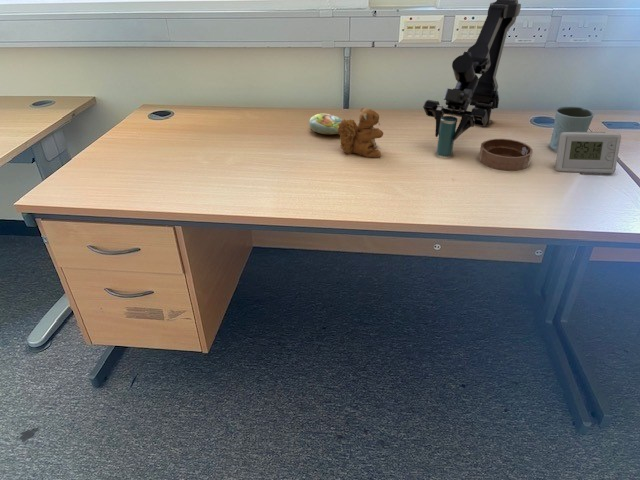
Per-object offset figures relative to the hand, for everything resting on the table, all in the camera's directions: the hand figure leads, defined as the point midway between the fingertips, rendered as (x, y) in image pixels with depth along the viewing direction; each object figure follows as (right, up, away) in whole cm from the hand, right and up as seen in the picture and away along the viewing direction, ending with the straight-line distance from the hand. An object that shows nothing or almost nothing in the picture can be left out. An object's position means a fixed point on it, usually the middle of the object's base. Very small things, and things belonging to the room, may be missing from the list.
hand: (444, 138), depth 136 cm
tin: (+1, -4, +4) cm, 6 cm away
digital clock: (+37, -11, -6) cm, 39 cm away
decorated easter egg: (-35, +7, +23) cm, 42 cm away
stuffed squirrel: (-25, -2, +8) cm, 26 cm away
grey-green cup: (+39, -2, +6) cm, 39 cm away
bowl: (+17, -7, -1) cm, 19 cm away
